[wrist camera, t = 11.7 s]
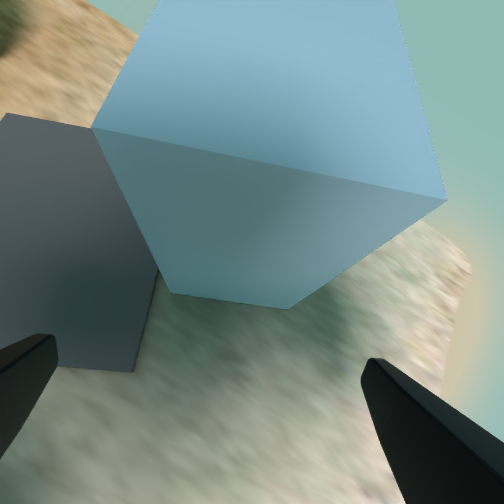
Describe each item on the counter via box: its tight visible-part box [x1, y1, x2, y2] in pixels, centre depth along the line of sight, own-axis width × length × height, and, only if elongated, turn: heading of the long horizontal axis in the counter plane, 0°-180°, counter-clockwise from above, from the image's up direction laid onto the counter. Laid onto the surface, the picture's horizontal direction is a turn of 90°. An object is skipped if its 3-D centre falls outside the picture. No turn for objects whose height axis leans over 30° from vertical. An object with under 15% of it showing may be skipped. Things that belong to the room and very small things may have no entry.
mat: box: [0, 113, 159, 372], centre depth 16 cm, size 16×13×1 cm
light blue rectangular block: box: [91, 0, 448, 310], centre depth 13 cm, size 10×7×12 cm
